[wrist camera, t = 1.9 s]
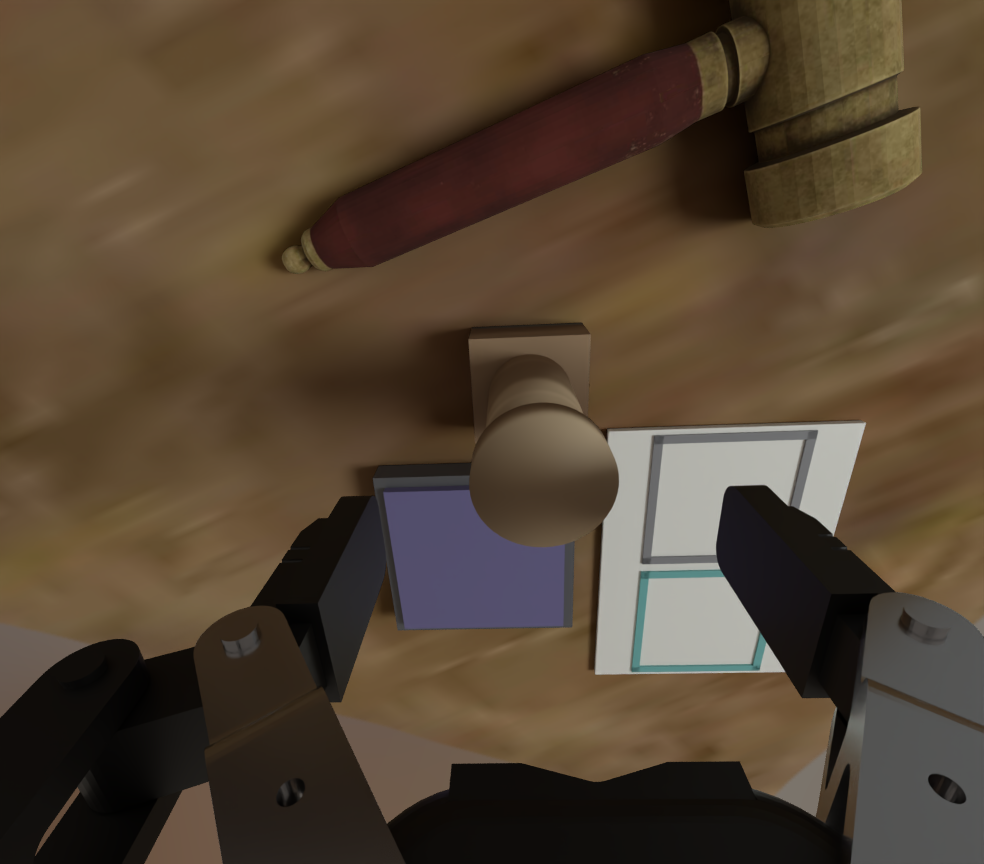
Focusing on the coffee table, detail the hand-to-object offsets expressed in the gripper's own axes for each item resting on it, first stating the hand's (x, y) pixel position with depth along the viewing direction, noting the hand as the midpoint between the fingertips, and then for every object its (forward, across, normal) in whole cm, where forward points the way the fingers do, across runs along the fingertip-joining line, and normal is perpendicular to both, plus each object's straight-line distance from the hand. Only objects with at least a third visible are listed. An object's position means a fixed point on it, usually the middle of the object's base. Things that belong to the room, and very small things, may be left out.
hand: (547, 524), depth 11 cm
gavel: (+11, -1, -9) cm, 14 cm away
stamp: (+10, 0, 0) cm, 10 cm away
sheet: (+11, -9, +10) cm, 17 cm away
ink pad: (+11, +2, +8) cm, 14 cm away
